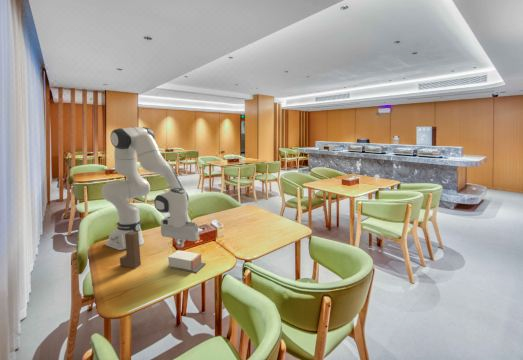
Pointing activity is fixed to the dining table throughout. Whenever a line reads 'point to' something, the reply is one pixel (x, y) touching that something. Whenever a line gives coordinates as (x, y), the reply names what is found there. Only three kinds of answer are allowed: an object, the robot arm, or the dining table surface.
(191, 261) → the cream block
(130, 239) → the wooden block
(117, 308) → the dining table surface
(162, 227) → the robot arm
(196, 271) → the mat
